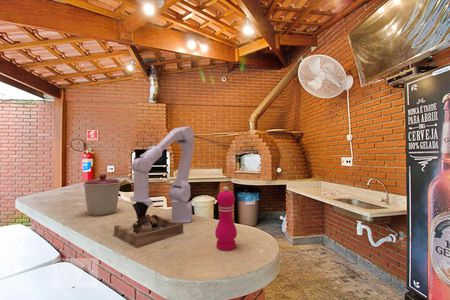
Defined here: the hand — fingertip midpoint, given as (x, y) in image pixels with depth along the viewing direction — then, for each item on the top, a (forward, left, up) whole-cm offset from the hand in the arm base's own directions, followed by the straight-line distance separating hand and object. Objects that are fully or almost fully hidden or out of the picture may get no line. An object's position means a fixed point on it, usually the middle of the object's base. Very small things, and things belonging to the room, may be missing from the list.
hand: (141, 220), depth 94 cm
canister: (+29, -30, -4) cm, 42 cm away
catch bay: (-4, +4, -4) cm, 7 cm away
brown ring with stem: (-4, +3, -4) cm, 7 cm away
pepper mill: (-34, +19, -4) cm, 39 cm away
